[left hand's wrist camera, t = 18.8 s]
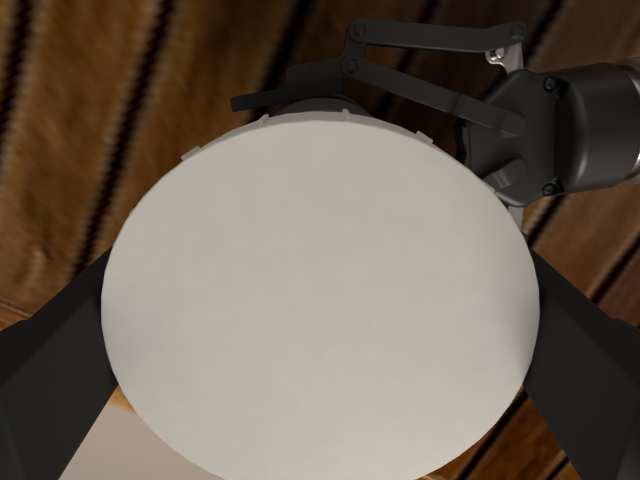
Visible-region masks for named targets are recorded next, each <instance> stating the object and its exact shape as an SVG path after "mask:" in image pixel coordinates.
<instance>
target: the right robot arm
mask: <svg viewBox="0 0 640 480" xmlns="http://www.w3.org/2000/svg"><path fill="white" fill-rule="evenodd" d="M527 34H528V27H527V24H526V23H525V22H524V21H521V20H515V21H511V22H507V23H503V24H499V25H496V26H492V27H489V28H485V29H477V28H466V27H455V26H444V25H433V24H422V23H411V22H400V21H389V20H378V19H367V18H356V19H355V20H353V21H352V22H351V24H350V25H349V27H348V28H347V32H346V38H345V43H344V48H343V51H342V53H341V54H340V55H339V56H338V57H337V58H333V59H328V60H322V61H317V62H311V63H305V64H300V65H294V66H292V67H290V68H289V69H287V70H286V71H285V72H286V78H287V83H288V87H287V88H281V89H275V90H269V91H264V92H258V93H252V94H246V95H241V96H236V97H233V98H230V101H231V106H232V110H233V112H236V111H241V110H247V109H253V108H259V107H265V106H270V105H276V104H282V103H288V102H294V101H300V100H305V99H311V98H317V97H323V96H329V95H335V94H340V93H344V91H343V84H342V80H343V79H348V78H351V79H354V80H357V81H359V82H362V83H365V84H368V85H371V86H374V87H376V88H379V89H382V90H385V91H388V92H390V93H393V94H396V95H399V96H402V97H404V98H407V99H410V100H413V101H416V102H418V103H421V104H424V105H427V106H430V107H432V108H435V109H438V110H441V111H444V112H446V113H449V114H452V115H455V116H458V117H457V119H456V123H453V136H454V139H455V142H456V144H457V151H456V156H455V160H457V161H458V162H460V163H461V164H462V165H464V166H465V167H467V168H468V169H469V170H471V171H472V172H473V173H474V174H475V175H476V176H477V177H478V178H480V179H481V180H482V181H484V182H485V183H487V184H488V185H489V186H491V187H492V188H493V189H494V190H495V192H494V193H495V195H496V196H497V197H498V198H499V200H500V201H501V202H502V203H503V205H504V206H505V207H506V208H507V210H508V211H509V212H510V214H511V216H512V217H513V219H514V221H515V222H516V224H517V226H518V228H519V229H520V231H521V226H522V217H523V207H525V206H527V205H529V204H530V203H532V202H533V201H535V200H537V199H539V198H542V197H546V196H556V195H563V194H570V193H576V192H583V191H589V190H596V189H602V188H609V187H613V186H615V185H617V184H623V185H631V184H637V183H640V57H634V58H628V59H623V60H618V61H616V62H614V63H612V64H611V63H597V64H591V65H586V66H580V67H574V68H568V69H562V70H556V71H550V72H544V73H534V72H531V71H529V70H526V69H524V67H523V58H522V48H521V42H522V41H523V40H524V39H525V38H526V36H527ZM367 45H370V46H381V47H392V48H403V49H414V50H426V51H437V52H448V53H459V54H470V53H480V58H481V60H482V62H484V63H485V64H494V65H496V66H498V67H499V69H500V71H501V74H499V75H498V76H497V77H496V78H495V79H494V80H493V81H492V82H491V83H490V84H489V85H488V86H487V87H486V88H484V89H483V90H482V91H481V92H480V93H479V94H478V95H477V96H476V97H475V98H472V97H469V96H466V95H463V94H460V93H457V92H454V91H451V90H448V89H446V88H443V87H440V86H437V85H435V84H432V83H429V82H426V81H424V80H421V79H418V78H415V77H413V76H410V75H407V74H404V73H402V72H399V71H396V70H393V69H391V68H388V67H385V66H382V65H380V64H377V63H374V62H371V61H369V60H366V59H364V56H365V51H366V46H367ZM521 233H522V235H523V236H524V239H525V241H526V243H527V236H526V234H525V233H524V232H522V231H521Z"/></svg>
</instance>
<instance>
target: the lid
mask: <svg viewBox="0 0 640 480" xmlns="http://www.w3.org/2000/svg"><path fill="white" fill-rule="evenodd" d="M432 142H433V140H432V139H430V138H429V137H427V136H426V135H424V134H423V133H421V132H419V131H417V133H416V134H414V133H412V132H410V131H408V130H406V129H404V128H402V127H400V126H397V125H394V124H391V123H388V122H385V121H382V120H378V119H375V118H372V117H366V116H361V115H355V114H350V113H349V111H348V110H347V109H343V111H342V112H321V111H313V112H302V113H291V114H284V115H279V116H275V117H271V118H269V115H268V114H266V115H263V116H262V117H261V118H260V119H259V120H258V121H255V122H252V123H250V124H247V125H245V126H242V127H239V128H237V129H234V130H232V131H230V132H228V133H226V134H224V135H222V136H221V137H219V138H217V139H215V140H213V141H212V142H210V143H208V144H206V145H205V146H203V147H202V148H201V149H200V147H199V146H197V147H195V148H194V149H192V150H191V151H189V152H188V153H186V154H185V155H183V156H182V157H181V158H182V160H183V162H181V163H180V164H179V165H177V166H176V167H175V168H173V169H172V170H171V171H169V172H168V173H167V174H165V175H164V176H163V177H162V178H161V179H160V180H159V181H158V182H157V183H156V184H155V185H154V186H153V187H152V188H151V189H150V190H149V191H148V192H147V193H146V194H145V195H144V196H143V197H142V199H141V200H140V202H139V203H138V204H137V206H136V207H135V208H134V209H133V210H132V211H131V212H130V213H129V217H128V218H127V220H126V221H125V223H124V225H123V227H122V229H121V231H120V233H119V235H118V237H117V239H116V241H115V243H114V245H113V248H112V251H111V254H110V257H109V260H108V263H107V266H106V269H105V274H104V281H103V287H102V294H101V325H102V331H103V336H104V341H105V346H106V351H107V355H108V358H109V361H110V364H111V367H112V370H113V372H114V375H115V377H116V379H117V381H118V383H119V385H120V387H121V389H122V391H123V393H124V394H125V396H126V398H127V399H128V401H129V402H130V404H131V405H132V407H133V408H134V410H135V411H136V413H137V414H138V415H139V416H140V417H141V418H142V420H143V421H144V422H145V423H146V424H147V425H148V427H149V428H150V429H151V430H152V431H153V432H154V433H155V434H156V435H157V436H159V437H160V438H161V439H162V440H163V441H164V442H165V443H166V444H167V445H168V446H170V447H171V448H172V449H174V450H175V451H176V452H178V453H179V454H180V455H182V456H183V457H185V458H186V459H187V460H189V461H191V462H192V463H194V464H196V465H198V466H199V467H201V468H203V469H205V470H206V471H208V472H210V473H212V474H215V475H217V476H219V477H221V478H224V479H226V480H415V479H418V478H420V477H422V476H424V475H426V474H428V473H430V472H432V471H434V470H436V469H438V468H440V467H442V466H443V465H445V464H446V463H448V462H450V461H451V460H453V459H454V458H456V457H458V456H459V455H461V454H462V453H463V452H464V451H466V450H467V449H468V448H469V447H471V446H472V445H473V444H474V443H476V442H477V441H478V440H479V439H480V438H481V437H482V436H483V435H484V434H485V433H486V432H487V431H488V430H489V429H490V428H491V427H492V426H493V425H494V424H495V423H496V422H497V421H498V419H499V418H500V417H501V415H502V414H503V413H504V412H505V410H506V409H507V408H508V406H509V405H510V404H511V402H512V400H513V399H514V397H515V395H516V393H517V392H518V390H519V388H520V387H521V385H522V383H523V381H524V378H525V376H526V373H527V371H528V369H529V366H530V364H531V361H532V357H533V352H534V348H535V343H536V339H537V333H538V328H539V319H540V304H539V287H538V282H537V277H536V272H535V267H534V263H533V260H532V257H531V255H530V252H529V249H528V247H527V244H526V241H525V239H524V236H523V235H522V233H521V231H520V229H519V228H518V226H517V224H516V222H515V221H514V219H513V217H512V216H511V214H510V212H509V211H508V210H507V208H506V207H505V206H504V205H503V203H502V202H501V201H500V200H499V198H498V197H497V196H496V195H495V193H494V192H495V190H494V189H493V188H492V187H491V186H489V185H488V184H487V183H485V182H484V181H482V180H481V179H480V178H478V177H477V176H476V175H475V174H474V173H473V172H472V171H471V170H469V169H468V168H467V167H465V166H464V165H462V164H461V163H460V162H458V161H457V160H455V159H454V158H453V157H451V156H450V155H448V154H447V153H445V152H444V151H442V150H441V149H439V148H438V147H437V146H435V145H434V144H432Z"/></svg>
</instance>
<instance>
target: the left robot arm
mask: <svg viewBox="0 0 640 480" xmlns="http://www.w3.org/2000/svg"><path fill="white" fill-rule="evenodd" d="M527 247H528V249H529V252H530V255H531V257H532V260H533V263H534V267H535V272H536V277H537V282H538V287H539V304H540V319H539V328H538V333H537V339H536V343H535V348H534V352H533V357H532V361H531V364H530V366H529V369H528V371H527V373H526V376H525V378H524V381H523V383H522V385H523V387H524V388H525V390H526V391H527V393H528V395H529V396H530V398H531V399H532V401H533V403H534V404H535V406H536V407H537V409H538V411H539V412H540V414H541V415H542V417H543V419H544V420H545V422H546V423H547V425H548V426H549V428H550V430H551V431H552V433H553V434H554V436H555V438H556V439H557V441H558V442H559V444H560V446H561V447H562V449H563V450H564V452H565V453H566V455H567V457H568V458H569V460H570V461H571V463H572V465H573V466H574V468H575V469H576V471H577V473H578V474H579V476H580V477H581V479H582V480H640V329H638V328H636V327H634V326H632V325H631V324H629V323H627V322H625V321H623V320H621V319H611V318H610V317H609V316H608V315H606V314H605V313H604V312H603V311H602V310H601V309H600V308H598V307H597V306H596V305H595V304H594V303H593V302H592V301H590V300H589V299H588V298H587V297H586V296H585V295H584V294H582V293H581V292H580V291H579V290H578V289H577V288H576V287H574V286H573V285H572V284H571V283H570V282H569V281H568V280H566V279H565V278H564V277H563V276H562V275H561V274H560V273H558V272H557V271H556V270H555V269H554V268H553V267H552V266H550V265H549V264H548V263H547V262H546V261H545V260H544V259H542V258H541V257H540V256H539V255H538V254H537V253H536V252H535V251H533V250H532V249H531V248H530V247H529V246H528V245H527ZM112 248H113V246H112V247H110V248H109V249H108V250H107V251H106V252H105V253H104V254H102V255H101V256H100V257H99V258H98V259H97V260H96V261H94V262H93V263H92V264H91V265H90V266H89V267H88V268H86V269H85V270H84V271H83V272H82V273H81V274H80V275H78V276H77V277H76V278H75V279H74V280H73V281H72V282H70V283H69V284H68V285H67V286H66V287H65V288H64V289H62V290H61V291H60V292H59V293H58V294H57V295H56V296H54V297H53V298H52V299H51V300H50V301H49V302H48V303H46V304H45V305H44V306H43V307H42V308H41V309H40V310H38V311H37V312H36V313H35V314H34V315H33V316H32V317H30V318H29V319H28V320H21V321H19V322H17V323H15V324H13V325H11V326H9V327H7V328H6V329H4V330H2V331H0V480H58V479H59V478H60V476H61V475H62V473H63V471H64V470H65V468H66V467H67V465H68V463H69V462H70V460H71V459H72V457H73V456H74V454H75V452H76V451H77V449H78V448H79V446H80V444H81V443H82V441H83V440H84V438H85V436H86V435H87V433H88V432H89V430H90V429H91V427H92V425H93V424H94V422H95V421H96V419H97V417H98V416H99V414H100V413H101V411H102V409H103V408H104V406H105V405H106V403H107V401H108V400H109V398H110V397H111V395H112V394H113V392H114V390H115V389H116V387H117V386H118V384H119V383H118V381H117V379H116V377H115V375H114V372H113V370H112V367H111V364H110V361H109V358H108V355H107V351H106V346H105V341H104V336H103V331H102V325H101V294H102V287H103V281H104V274H105V269H106V266H107V263H108V260H109V257H110V254H111V251H112Z"/></svg>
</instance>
